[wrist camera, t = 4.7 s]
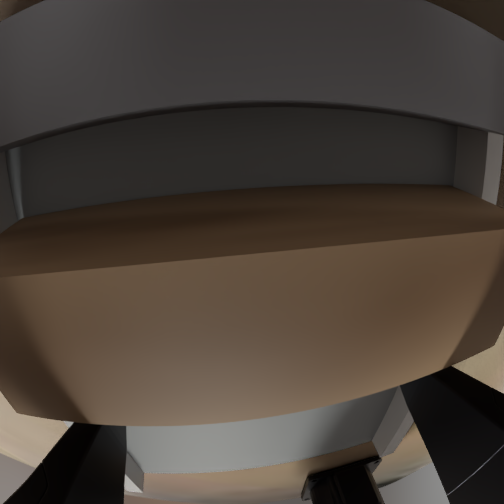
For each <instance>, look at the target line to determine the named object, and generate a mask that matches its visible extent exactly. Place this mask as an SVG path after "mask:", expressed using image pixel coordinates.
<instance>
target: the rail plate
mask: <svg viewBox="0 0 504 504" xmlns="http://www.w3.org/2000/svg"><path fill="white" fill-rule="evenodd" d="M503 135H504V41H502V40H501V39H499V38H497V37H496V36H494V35H493V34H491V33H489V32H488V31H486V30H484V29H482V28H481V27H479V26H477V25H475V24H474V23H472V22H470V21H468V20H466V19H464V18H462V17H460V16H458V15H456V14H454V13H452V12H450V11H448V10H446V9H444V8H442V7H439V6H437V5H435V4H432V3H430V2H428V1H425V0H44V1H42V2H40V3H37V4H35V5H33V6H31V7H28V8H26V9H24V10H22V11H20V12H18V13H16V14H14V15H12V16H10V17H8V18H6V19H4V20H3V21H1V22H0V234H1V233H2V232H3V231H5V230H6V229H7V228H9V227H10V226H12V225H13V224H14V223H16V222H17V221H19V220H20V219H22V218H25V217H30V216H36V215H41V214H46V213H52V212H57V211H63V210H69V209H75V208H81V207H87V206H94V205H100V204H107V203H114V202H121V201H129V200H136V199H144V198H152V197H161V196H170V195H179V194H189V193H199V192H210V191H222V190H234V189H248V188H263V187H280V186H301V185H330V184H429V185H451V186H453V187H455V188H458V189H460V190H463V191H465V192H467V193H470V194H472V195H474V196H477V197H479V198H481V199H484V200H486V201H488V202H490V203H492V204H494V205H496V202H497V196H498V189H499V182H500V173H501V164H502V152H503ZM413 422H414V420H413V418H412V416H411V413H410V411H409V409H408V407H407V405H406V402H405V399H404V397H403V394H402V391H401V388H400V386H396V387H393V388H390V389H387V390H384V391H381V392H377V393H374V394H371V395H367V396H364V397H360V398H357V399H353V400H349V401H345V402H341V403H337V404H333V405H329V406H325V407H320V408H316V409H311V410H306V411H301V412H296V413H291V414H285V415H280V416H273V417H267V418H260V419H253V420H245V421H237V422H227V423H217V424H204V425H187V426H126V433H127V456H126V469H125V484H124V488H125V489H126V490H127V491H130V492H143V484H144V473H206V472H221V471H232V470H241V469H250V468H257V467H264V466H270V465H277V464H282V463H288V462H293V461H298V460H303V459H307V458H312V457H316V456H320V455H324V454H328V453H332V452H336V451H339V450H343V449H346V448H350V447H353V446H356V445H360V444H363V443H366V442H369V441H372V442H373V444H374V446H375V448H376V450H377V452H378V455H379V457H383V456H386V455H388V454H391V453H393V452H394V451H395V449H396V448H397V447H398V445H399V444H400V442H401V441H402V439H403V438H404V436H405V435H406V433H407V432H408V430H409V428H410V427H411V425H412V424H413ZM64 423H65V424H66V425H67V426H68V428H69V427H70V426H71V425H72V424H73V423H74V422H69V421H64Z"/></svg>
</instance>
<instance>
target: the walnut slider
mask: <svg viewBox="0 0 504 504" xmlns="http://www.w3.org/2000/svg"><path fill="white" fill-rule="evenodd" d="M503 326H504V209H503V208H501V207H499V206H497V205H494V204H492V203H490V202H488V201H486V200H484V199H481V198H479V197H477V196H474V195H472V194H470V193H467V192H465V191H463V190H460V189H458V188H455V187H453V186H451V185H429V184H330V185H301V186H280V187H263V188H248V189H234V190H222V191H210V192H199V193H189V194H179V195H170V196H161V197H152V198H144V199H136V200H129V201H121V202H114V203H107V204H100V205H94V206H87V207H81V208H75V209H69V210H63V211H57V212H52V213H46V214H41V215H36V216H30V217H25V218H22V219H20V220H19V221H17V222H16V223H14V224H13V225H12V226H10V227H9V228H7V229H6V230H5V231H3V232H2V233H1V234H0V391H1V392H2V394H3V395H4V397H5V398H6V399H7V401H8V402H9V403H10V405H11V406H12V407H13V408H14V410H15V411H16V412H17V413H19V414H24V415H29V416H35V417H41V418H47V419H54V420H61V421H69V422H78V423H88V424H100V425H116V426H187V425H204V424H217V423H227V422H237V421H245V420H253V419H260V418H267V417H273V416H280V415H285V414H291V413H296V412H301V411H306V410H311V409H316V408H320V407H325V406H329V405H333V404H337V403H341V402H345V401H349V400H353V399H357V398H360V397H364V396H367V395H371V394H374V393H377V392H381V391H384V390H387V389H390V388H393V387H396V386H399V385H402V384H405V383H408V382H411V381H414V380H416V379H419V378H422V377H424V376H427V375H430V374H432V373H435V372H437V371H440V370H442V369H444V368H447V367H449V366H452V365H454V364H456V363H458V362H461V361H463V360H465V359H467V358H469V357H472V356H474V355H476V354H478V353H480V352H482V351H484V350H486V349H488V348H490V347H492V346H494V345H495V343H496V341H497V339H498V337H499V335H500V333H501V330H502V328H503Z"/></svg>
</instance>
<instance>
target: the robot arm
mask: <svg viewBox="0 0 504 504" xmlns="http://www.w3.org/2000/svg"><path fill="white" fill-rule="evenodd" d="M399 386H400V388H401V391H402V394H403V397H404V399H405V402H406V405H407V407H408V409H409V411H410V413H411V416H412V418H413V420H414V422H415V424H416V426H417V428H418V430H419V432H420V435H421V437H422V439H423V441H424V443H425V445H426V448H427V450H428V452H429V454H430V457H431V459H432V461H433V463H434V466H435V468H436V470H437V473H438V475H439V477H440V480H441V482H442V485H443V487H444V490H445V492H446V495H447V497H448V500H449V502H450V504H504V394H503V393H501V392H499V391H497V390H496V389H494V388H491V387H490V386H488V385H486V384H484V383H482V382H480V381H478V380H477V379H475V378H473V377H471V376H469V375H467V374H465V373H463V372H462V371H460V370H458V369H456V368H454V367H452V366H449V367H447V368H444V369H442V370H440V371H437V372H435V373H432V374H430V375H427V376H424V377H422V378H419V379H416V380H414V381H411V382H408V383H405V384H402V385H399ZM126 456H127V433H126V426H116V425H100V424H88V423H78V422H74V423H73V424H72V425H71V426H70V427H69V429H68V430H67V431H66V432H65V433H64V435H63V436H62V437H61V438H60V440H59V441H58V442H57V443H56V444H55V446H54V447H53V448H52V449H51V451H50V452H49V453H48V454H47V456H46V457H45V458H44V459H43V461H42V463H40V464H39V465H38V467H37V468H36V469H35V471H34V472H33V473H32V474H31V475H30V476H29V478H28V479H27V480H26V481H25V482H24V483H23V484H22V485H21V486H20V487H19V489H17V490H16V491H15V492H14V493H13V494H12V495H11V496H10V497H9V498H8V499H7V500H6V501H5V502H4V503H3V504H124V484H125V469H126ZM381 461H382V459H381V457H379V456H376V457H373V458H370V459H367V460H365V461H361V462H358V463H355V464H352V465H349V466H345V467H342V468H339V469H335V470H331V471H328V472H324V473H320V474H316V475H312V476H310V477H308V478H307V481H306V484H305V487H304V490H303V493H302V495H301V499H302V501H306V500H310V499H311V500H312V503H313V504H385V503H384V501H383V498H382V496H381V494H380V492H379V489H378V487H377V485H376V482H375V480H374V478H373V475H372V473H373V472H374V470H375V469H376V468H377V466H378V465H379V463H380V462H381Z"/></svg>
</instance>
